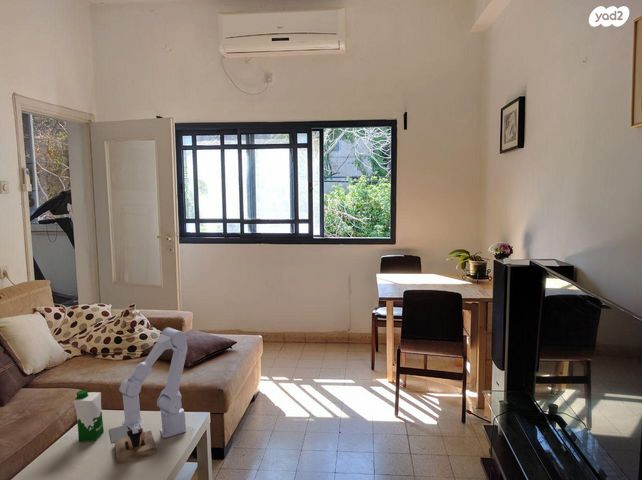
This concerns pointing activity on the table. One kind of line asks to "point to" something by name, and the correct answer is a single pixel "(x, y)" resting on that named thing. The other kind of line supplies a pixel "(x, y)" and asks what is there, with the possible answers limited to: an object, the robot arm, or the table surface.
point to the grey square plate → (119, 432)
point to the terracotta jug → (140, 440)
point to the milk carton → (89, 415)
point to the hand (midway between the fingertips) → (134, 441)
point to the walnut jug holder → (136, 452)
